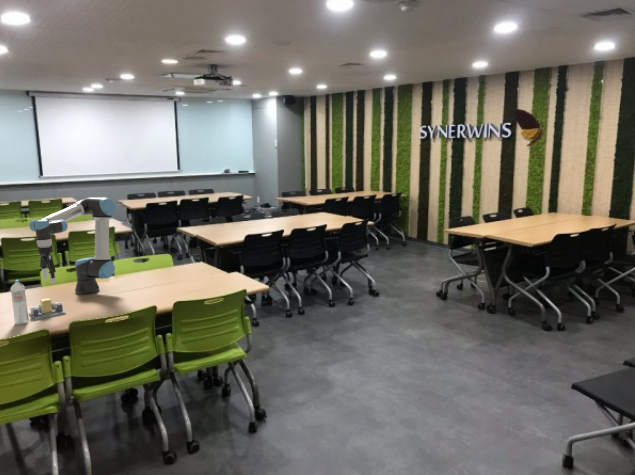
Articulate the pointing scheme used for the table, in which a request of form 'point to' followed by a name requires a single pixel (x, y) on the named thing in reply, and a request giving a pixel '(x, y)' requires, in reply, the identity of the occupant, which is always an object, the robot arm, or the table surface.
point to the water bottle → (19, 303)
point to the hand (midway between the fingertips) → (49, 281)
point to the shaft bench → (56, 310)
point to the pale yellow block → (46, 306)
